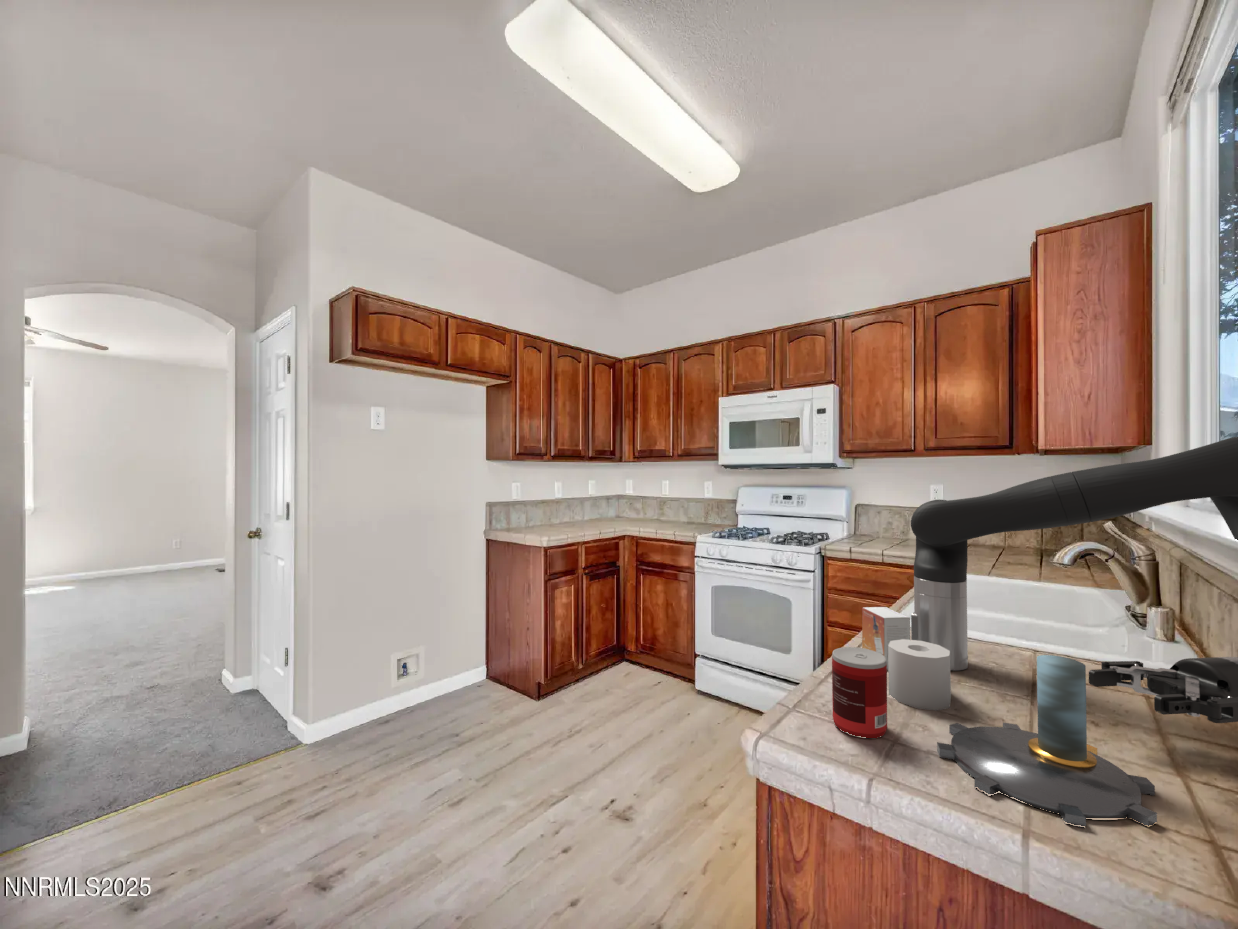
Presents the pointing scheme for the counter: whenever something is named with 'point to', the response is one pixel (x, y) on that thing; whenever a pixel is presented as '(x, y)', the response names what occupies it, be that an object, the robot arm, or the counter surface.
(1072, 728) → the pin
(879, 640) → the small box
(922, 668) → the toilet tissue
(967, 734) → the sprocket plate
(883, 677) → the canned food
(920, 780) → the counter surface
